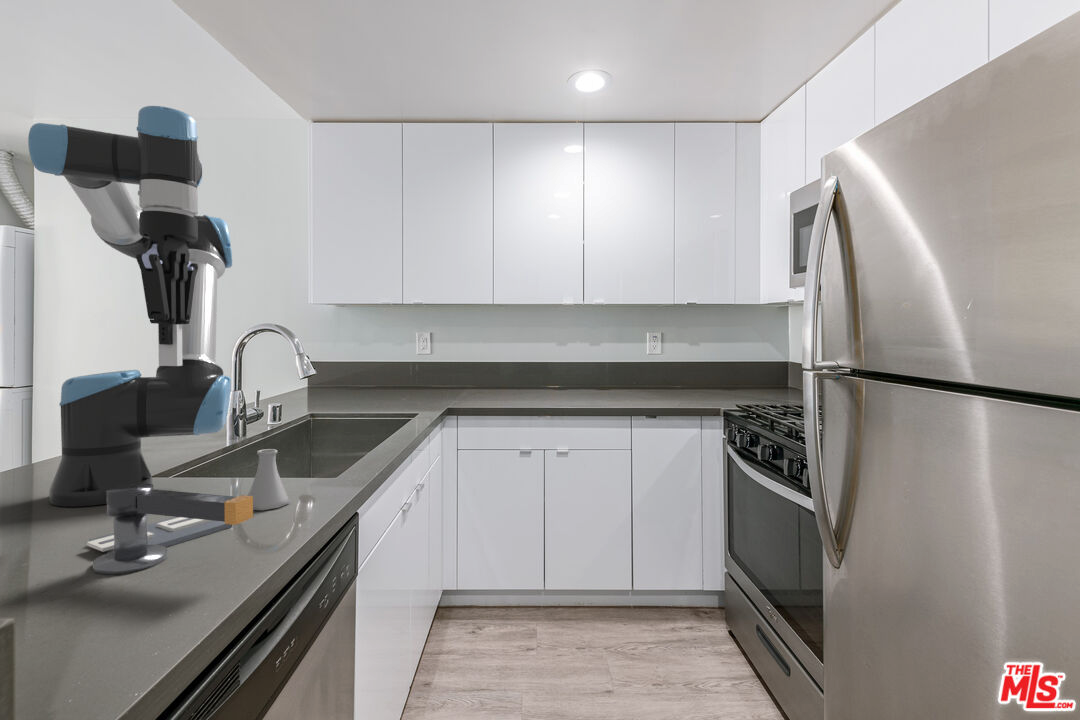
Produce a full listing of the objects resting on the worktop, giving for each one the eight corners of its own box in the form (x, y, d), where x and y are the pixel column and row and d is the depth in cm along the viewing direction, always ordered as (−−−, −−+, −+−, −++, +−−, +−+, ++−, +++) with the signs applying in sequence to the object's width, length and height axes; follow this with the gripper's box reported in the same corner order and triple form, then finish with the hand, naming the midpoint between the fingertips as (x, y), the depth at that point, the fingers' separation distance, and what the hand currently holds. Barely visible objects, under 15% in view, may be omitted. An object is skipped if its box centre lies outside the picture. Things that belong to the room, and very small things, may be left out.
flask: (259, 514, 94) (259, 456, 93) (236, 506, 98) (236, 451, 97) (297, 504, 100) (297, 449, 99) (274, 497, 104) (274, 445, 103)
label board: (79, 547, 78) (79, 538, 78) (196, 516, 92) (196, 507, 92) (115, 562, 73) (115, 552, 73) (232, 526, 87) (232, 518, 87)
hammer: (96, 514, 71) (96, 492, 71) (132, 503, 76) (132, 482, 76) (229, 528, 67) (229, 504, 67) (258, 515, 72) (258, 493, 72)
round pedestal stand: (80, 566, 72) (80, 517, 71) (148, 546, 79) (147, 501, 78) (111, 579, 68) (111, 528, 68) (179, 557, 75) (179, 511, 75)
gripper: (166, 220, 90) (168, 362, 92) (115, 203, 77) (117, 368, 79) (214, 223, 91) (215, 363, 93) (171, 205, 78) (173, 369, 80)
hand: (170, 365), depth 86 cm, fingers closed
